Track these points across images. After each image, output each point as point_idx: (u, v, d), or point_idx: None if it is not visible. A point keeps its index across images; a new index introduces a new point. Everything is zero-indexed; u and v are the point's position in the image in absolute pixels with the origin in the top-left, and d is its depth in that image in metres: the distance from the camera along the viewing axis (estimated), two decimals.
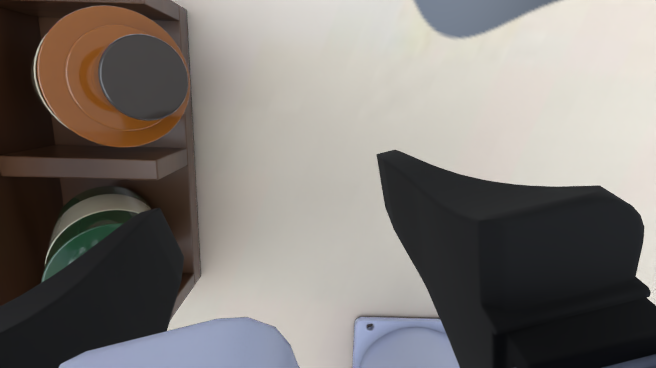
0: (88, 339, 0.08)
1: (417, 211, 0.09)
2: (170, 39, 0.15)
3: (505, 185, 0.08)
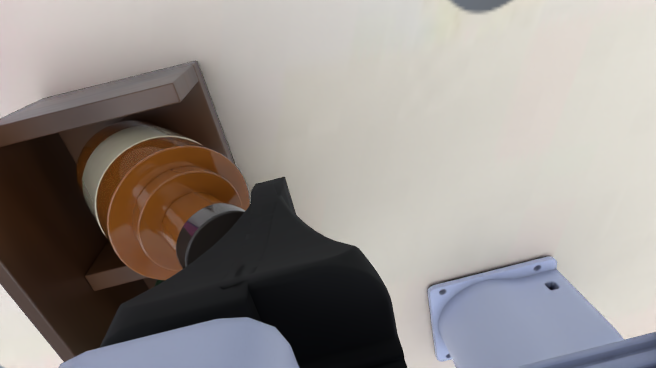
0: None
1: None
2: (217, 155, 0.14)
3: (310, 233, 0.08)
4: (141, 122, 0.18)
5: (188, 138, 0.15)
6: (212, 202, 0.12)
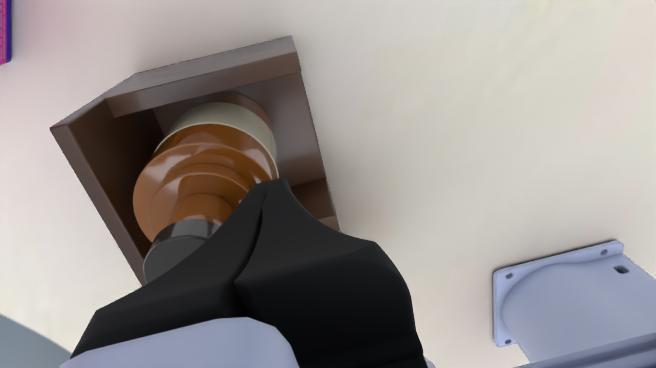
0: None
1: None
2: (244, 157, 0.13)
3: (325, 229, 0.08)
4: (230, 96, 0.18)
5: (242, 128, 0.15)
6: (202, 213, 0.11)
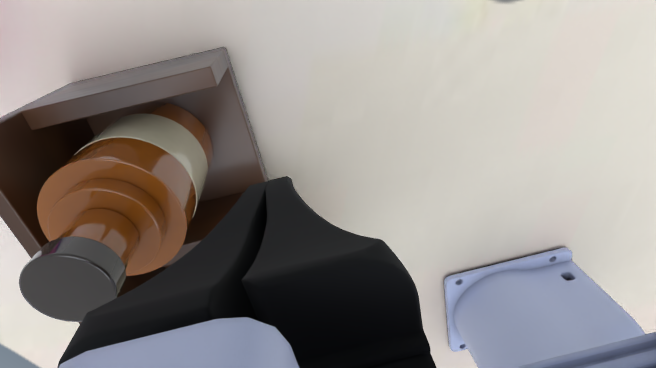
0: None
1: None
2: (144, 173, 0.13)
3: (330, 228, 0.08)
4: (160, 107, 0.18)
5: (155, 141, 0.15)
6: (88, 230, 0.12)
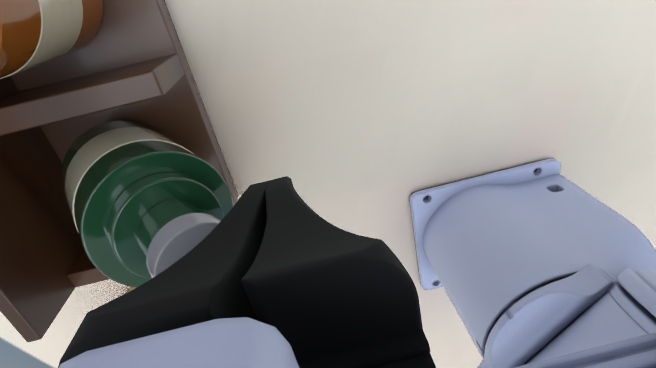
0: None
1: None
2: None
3: (330, 228, 0.08)
4: None
5: None
6: None
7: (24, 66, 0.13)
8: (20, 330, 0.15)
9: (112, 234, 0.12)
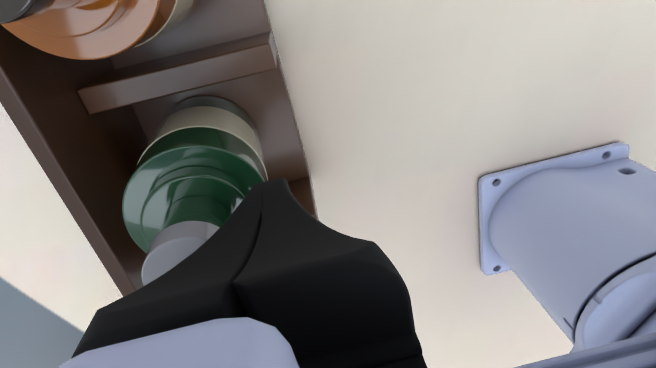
0: None
1: None
2: None
3: (324, 230, 0.08)
4: None
5: None
6: None
7: (155, 35, 0.13)
8: None
9: (140, 218, 0.12)
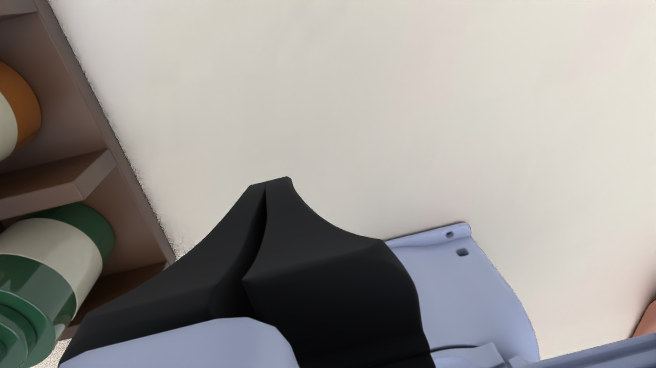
0: None
1: None
2: None
3: (331, 228, 0.08)
4: None
5: None
6: None
7: None
8: None
9: None
